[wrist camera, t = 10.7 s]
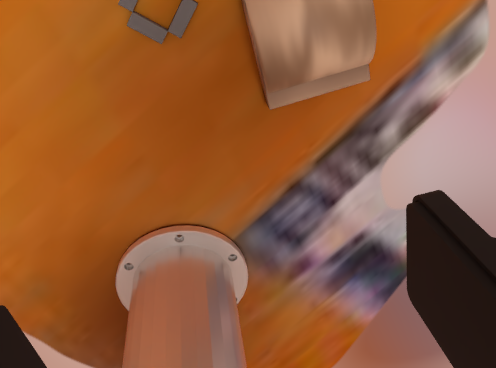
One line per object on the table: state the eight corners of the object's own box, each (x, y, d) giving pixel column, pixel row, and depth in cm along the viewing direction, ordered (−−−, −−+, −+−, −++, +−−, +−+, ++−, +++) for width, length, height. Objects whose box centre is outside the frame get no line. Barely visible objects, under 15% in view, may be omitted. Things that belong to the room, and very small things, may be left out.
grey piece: (204, -11, 30) (204, -10, 29) (174, 48, 32) (174, 51, 31) (140, -50, 28) (140, -49, 28) (113, 16, 30) (112, 17, 29)
